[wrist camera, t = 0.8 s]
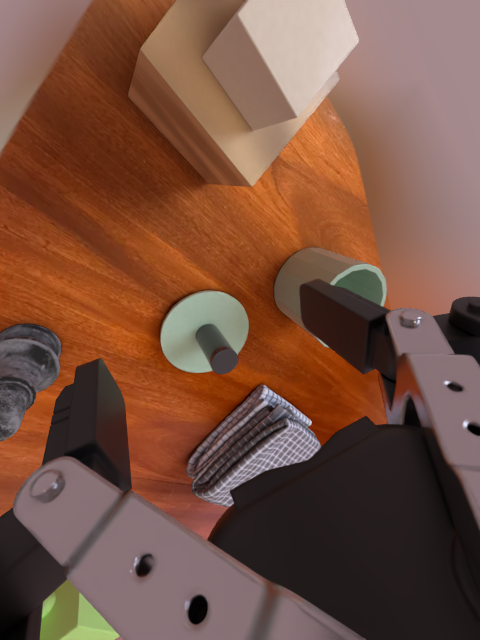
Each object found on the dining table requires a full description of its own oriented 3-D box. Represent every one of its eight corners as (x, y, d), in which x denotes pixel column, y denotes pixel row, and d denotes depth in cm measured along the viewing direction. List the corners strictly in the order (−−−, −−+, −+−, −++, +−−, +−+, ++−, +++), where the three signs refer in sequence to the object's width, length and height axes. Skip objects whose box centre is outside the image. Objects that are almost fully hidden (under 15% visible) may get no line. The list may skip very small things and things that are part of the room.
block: (255, -13, 15) (312, -87, 11) (300, 72, 17) (360, 41, 13) (201, 58, 15) (236, 14, 11) (253, 131, 18) (297, 118, 13)
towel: (178, 460, 42) (191, 511, 36) (265, 377, 42) (293, 414, 36) (236, 484, 51) (255, 528, 45) (308, 415, 51) (337, 450, 44)
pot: (312, 230, 34) (364, 244, 27) (347, 277, 40) (397, 298, 33) (259, 292, 35) (297, 320, 28) (300, 329, 41) (341, 361, 34)
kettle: (6, 616, 42) (-22, 739, 33) (12, 557, 37) (-19, 679, 28) (113, 584, 49) (115, 677, 40) (129, 531, 45) (135, 622, 36)
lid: (200, 269, 31) (222, 291, 25) (260, 319, 37) (289, 345, 31) (139, 344, 32) (146, 382, 26) (208, 380, 38) (226, 417, 32)
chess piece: (-14, 369, 26) (-85, 483, 17) (-5, 314, 25) (-78, 404, 15) (58, 375, 29) (33, 475, 20) (70, 327, 28) (51, 410, 18)
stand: (199, -1, 21) (256, -110, 13) (268, 108, 26) (340, 78, 18) (127, 96, 22) (139, 49, 14) (208, 184, 27) (252, 187, 19)
